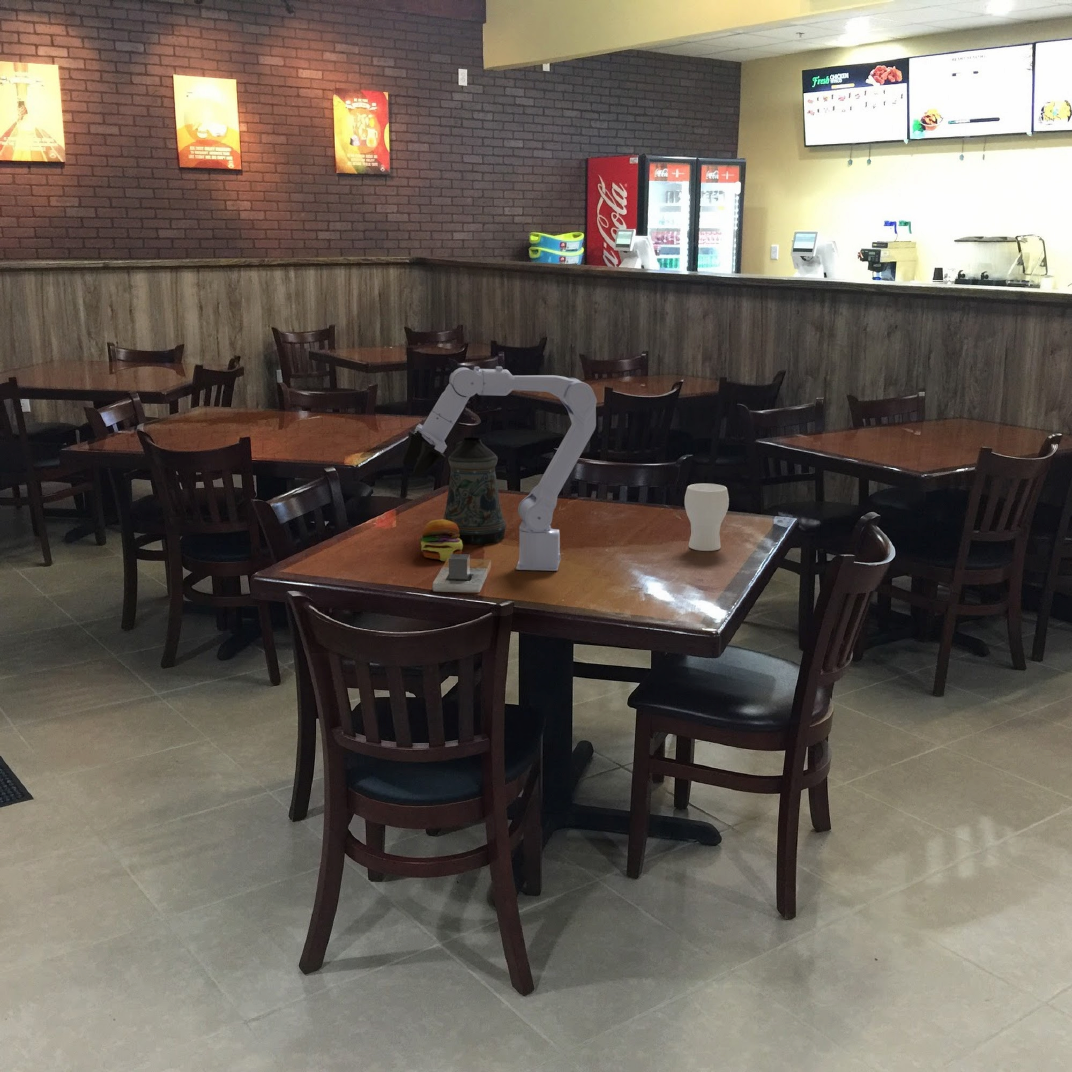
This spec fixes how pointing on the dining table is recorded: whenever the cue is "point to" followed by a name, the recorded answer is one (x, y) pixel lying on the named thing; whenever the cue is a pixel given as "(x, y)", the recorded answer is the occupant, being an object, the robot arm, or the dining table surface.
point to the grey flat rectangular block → (477, 578)
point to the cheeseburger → (441, 540)
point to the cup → (706, 514)
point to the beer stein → (474, 494)
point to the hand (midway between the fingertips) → (411, 469)
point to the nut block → (459, 567)
